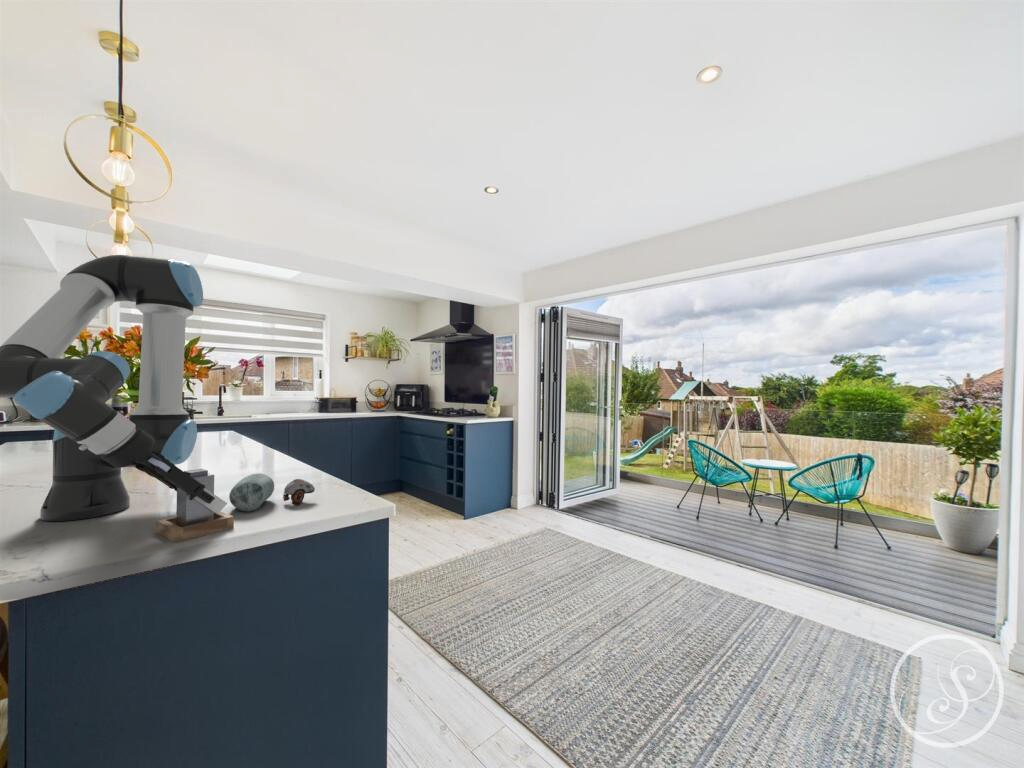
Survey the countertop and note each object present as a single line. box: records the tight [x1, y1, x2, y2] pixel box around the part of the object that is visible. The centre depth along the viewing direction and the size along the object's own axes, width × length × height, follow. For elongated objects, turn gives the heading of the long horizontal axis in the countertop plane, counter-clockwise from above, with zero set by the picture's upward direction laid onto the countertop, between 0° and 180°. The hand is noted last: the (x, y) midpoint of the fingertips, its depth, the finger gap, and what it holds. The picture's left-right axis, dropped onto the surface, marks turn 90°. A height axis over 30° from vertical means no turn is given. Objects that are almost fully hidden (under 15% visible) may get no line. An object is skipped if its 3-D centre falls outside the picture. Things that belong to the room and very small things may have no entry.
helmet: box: [282, 478, 316, 506], centre depth 109 cm, size 6×8×7 cm
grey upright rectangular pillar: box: [175, 468, 215, 527], centre depth 88 cm, size 5×5×13 cm
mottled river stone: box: [228, 472, 275, 512], centre depth 106 cm, size 14×10×10 cm
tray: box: [155, 511, 235, 543], centre depth 88 cm, size 10×10×2 cm
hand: (215, 506), depth 91 cm, fingers open, 5 cm apart
